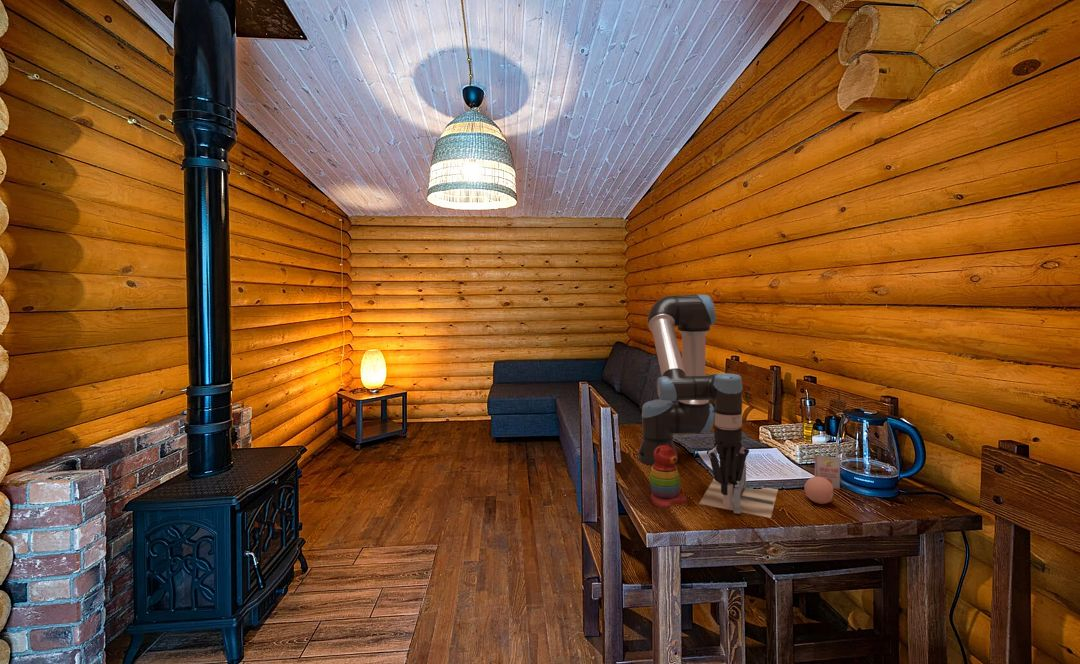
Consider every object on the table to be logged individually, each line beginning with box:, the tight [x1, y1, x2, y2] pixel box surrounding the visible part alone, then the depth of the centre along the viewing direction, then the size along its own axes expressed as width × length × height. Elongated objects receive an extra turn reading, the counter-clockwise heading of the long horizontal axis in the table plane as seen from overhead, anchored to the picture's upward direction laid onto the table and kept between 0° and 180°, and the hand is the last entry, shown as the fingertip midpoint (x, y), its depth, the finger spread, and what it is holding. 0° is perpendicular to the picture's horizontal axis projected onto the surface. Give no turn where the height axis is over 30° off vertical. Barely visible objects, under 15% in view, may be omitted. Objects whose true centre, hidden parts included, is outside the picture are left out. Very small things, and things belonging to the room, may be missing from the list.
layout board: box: [698, 478, 779, 519], centre depth 147 cm, size 22×20×1 cm
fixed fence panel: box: [740, 462, 747, 493], centre depth 151 cm, size 12×2×8 cm, turn 148°
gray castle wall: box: [733, 481, 741, 515], centre depth 140 cm, size 12×2×7 cm, turn 156°
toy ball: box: [804, 476, 835, 505], centre depth 142 cm, size 8×8×8 cm
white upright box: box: [814, 455, 841, 491], centre depth 153 cm, size 4×7×10 cm, turn 63°
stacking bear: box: [649, 444, 688, 509], centre depth 147 cm, size 11×10×18 cm
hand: (727, 504), depth 138 cm, fingers closed
